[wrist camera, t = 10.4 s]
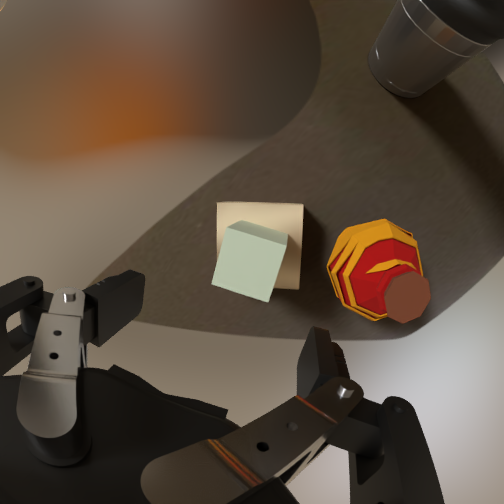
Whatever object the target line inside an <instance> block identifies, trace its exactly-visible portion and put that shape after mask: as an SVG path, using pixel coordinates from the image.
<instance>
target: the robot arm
mask: <svg viewBox="0 0 504 504" xmlns="http://www.w3.org/2000/svg"><path fill="white" fill-rule="evenodd" d="M499 39H504V0H397V2H396V4H395V6H394V8H393V10H392V11H391V13H390V15H389V17H388V19H387V21H386V23H385V25H384V27H383V28H382V30H381V32H380V34H379V36H378V37H377V39H376V41H375V43H374V45H373V47H372V49H371V51H370V53H369V58H368V60H369V66H370V69H371V71H372V73H373V75H374V77H375V78H376V79H377V80H378V82H379V83H380V84H381V85H382V86H383V87H385V88H386V89H387V90H389V91H390V92H392V93H394V94H396V95H398V96H401V97H406V98H415V97H418V96H421V95H422V94H423V93H425V92H426V91H427V90H429V89H430V88H432V87H433V86H435V85H436V84H437V83H439V82H440V81H441V80H443V79H444V78H445V77H447V76H448V75H450V74H451V73H452V72H454V71H455V70H456V69H458V68H459V67H461V66H462V65H463V64H465V63H466V62H468V61H469V60H470V59H472V58H473V57H475V56H476V55H477V54H479V53H480V52H481V51H483V50H484V49H486V48H487V47H489V46H490V45H491V44H493V43H494V42H496V41H497V40H499ZM144 285H145V276H144V274H142V273H139V272H136V271H133V270H127V271H125V272H124V273H122V274H120V275H116V276H111V277H108V278H106V279H104V280H102V281H100V282H98V283H97V284H94V285H92V286H90V287H88V288H86V289H84V290H82V291H81V290H79V289H77V288H72V287H65V288H60V289H58V290H56V291H55V293H54V294H53V293H49V292H45V291H43V281H42V280H41V279H40V278H38V277H34V276H26V277H21V278H19V279H17V280H14V281H12V282H10V283H8V284H6V285H3V286H1V287H0V504H299V502H298V501H297V500H296V499H295V497H294V496H293V495H292V493H291V492H290V491H289V490H288V488H287V487H286V485H288V484H289V483H290V482H291V481H292V480H293V479H294V478H295V477H296V476H297V475H298V474H299V473H300V472H301V471H302V470H303V469H305V468H306V467H307V466H308V465H309V464H310V463H311V462H312V461H313V460H315V459H316V458H317V457H318V456H319V455H320V454H321V453H322V452H323V451H324V450H325V449H326V448H327V447H328V446H329V445H333V446H336V447H338V448H341V449H344V450H347V451H348V454H349V474H350V504H445V503H444V499H443V495H442V492H441V488H440V484H439V480H438V477H437V473H436V470H435V467H434V463H433V460H432V457H431V454H430V451H429V448H428V445H427V442H426V439H425V436H424V434H423V431H422V428H421V425H420V423H419V420H418V417H417V414H416V412H415V409H414V408H413V406H412V405H411V404H410V403H409V402H408V401H406V400H405V399H403V398H400V397H396V396H390V397H387V398H386V399H385V400H384V402H383V403H382V405H381V404H379V403H376V402H373V401H370V400H368V399H365V398H364V397H363V396H364V392H363V389H362V388H361V386H360V385H358V384H357V383H356V382H355V381H353V380H350V376H349V372H348V368H347V364H346V361H345V358H344V354H343V350H342V349H341V348H340V346H339V345H338V344H337V343H335V342H331V338H330V334H329V330H326V329H322V328H318V327H314V326H313V327H312V328H311V329H310V332H309V334H308V337H307V339H306V342H305V344H304V347H303V349H302V351H301V354H300V357H299V360H298V365H297V395H296V396H294V397H292V398H291V399H289V400H288V401H286V402H285V403H283V404H281V405H280V406H278V407H277V408H275V409H273V410H271V411H270V412H268V413H266V414H265V415H263V416H261V417H260V418H258V419H256V420H254V421H252V422H250V423H249V424H247V425H245V426H243V427H239V426H238V425H237V424H235V423H234V422H232V421H230V420H228V419H226V415H227V412H228V410H227V409H224V408H221V407H218V406H215V405H212V404H208V403H205V402H202V401H200V400H196V399H190V398H184V397H178V396H173V395H168V394H165V393H162V392H161V391H159V390H158V389H156V388H155V387H153V386H152V385H150V384H149V383H148V382H146V381H145V380H143V379H142V378H140V377H139V376H137V375H135V374H133V373H131V372H129V371H127V370H124V369H122V368H120V367H118V366H116V365H113V366H112V367H111V368H110V369H109V370H104V369H99V368H88V365H87V364H88V362H87V344H88V343H89V342H91V343H92V344H94V345H96V346H98V347H100V346H101V345H103V344H104V343H105V342H106V341H107V340H109V339H110V338H111V337H112V336H113V335H115V334H116V333H117V332H118V331H119V330H120V329H122V328H123V327H124V326H126V325H127V324H128V323H129V322H130V321H132V320H133V319H134V318H135V317H136V316H138V314H139V313H140V311H141V309H142V305H143V295H144ZM18 311H19V312H20V318H21V325H19V326H17V327H16V328H14V329H13V330H11V331H10V332H8V333H7V329H6V321H7V319H8V318H9V317H10V316H11V315H13V314H14V313H16V312H18ZM30 353H31V356H30V360H29V365H28V369H27V371H26V372H23V374H22V375H12V376H3V375H4V374H5V373H6V372H8V371H9V370H10V369H11V368H12V367H14V366H15V365H16V364H18V363H19V362H20V361H21V360H23V359H24V358H25V357H27V356H28V355H29V354H30Z"/></svg>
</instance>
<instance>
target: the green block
mask: <svg viewBox="0 0 504 504" xmlns="http://www.w3.org/2000/svg"><path fill="white" fill-rule="evenodd" d="M287 239H288V234H287V233H284V232H280V231H277V230H274V229H271V228H267V227H264V226H261V225H258V224H254V223H251V222H248V221H244V220H240V221H238V222H236V223H234V224H232V225H230V226H228V227H226V230H225V234H224V238H223V242H222V245H221V249H220V253H219V257H218V261H217V264H216V268H215V272H214V276H213V280H212V284H213V285H216V286H219V287H222V288H225V289H228V290H231V291H234V292H237V293H240V294H243V295H246V296H249V297H252V298H256V299H259V300H262V301H265V302H269V299H270V296H271V293H272V290H273V287H274V284H275V281H276V278H277V275H278V272H279V269H280V265H281V262H282V259H283V256H284V253H285V250H286V247H287Z"/></svg>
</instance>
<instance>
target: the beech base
mask: <svg viewBox="0 0 504 504" xmlns="http://www.w3.org/2000/svg"><path fill="white" fill-rule="evenodd" d="M240 220H244V221H248V222H251V223H254V224H258V225H261V226H264V227H267V228H271V229H274V230H277V231H280V232H284V233H287V234H288V239H287V247H286V250H285V253H284V256H283V259H282V262H281V265H280V269H279V272H278V275H277V278H276V281H275V284H274V287H273V288H282V289H299V281H300V266H301V249H302V229H303V204H293V203H266V202H219V203H217V261H218V257H219V253H220V249H221V245H222V242H223V238H224V234H225V230H226V227H228V226H230V225H232V224H234V223H236V222H238V221H240Z"/></svg>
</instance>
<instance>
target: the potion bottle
mask: <svg viewBox="0 0 504 504" xmlns="http://www.w3.org/2000/svg"><path fill="white" fill-rule="evenodd" d="M398 228H399V229H401V230H402V231H401V230H399V229H398ZM403 231H404V232H406V233H404V232H403ZM327 270H328V272H329V275H330V278H331V281H332V284H333V287H334V290H335V293H336V296H337V297H338V298H339V299H340V301H342V304H343V306H344V307H346V308H348V309H350V310H352V311H354V312H356V313H358V314H360V315H362V316H364V317H365V318H367V319H369V320H371V321H377V320H379V319H382V318H385V317H387V316H388V317H390V318H392V319H394V320H396V321H398V322H400V323H402V324H403V323H406V322H408V321H411V320H413V319H415V318H417V317H420V316H421V314H422V313H423V311H424V309H425V308H426V306H427V304H428V302H429V301H430V299H431V296H430V288H429V281H428V279H426V278H425V277H423V271H422V265H421V260H420V255H419V250H418V245H417V241H415V240H414V239H413V236H412V233H410V232H408V231H406V230H404V229H402V228H400V227H398V226H396V225H395V224H393V223H391V222H390V221H388V220H386V219H381V220H377V221H372V222H368V223H364V224H360V225H356V226H352V227H347V228H346V229H345V230H344V231H343V232H342V233H341V234H340V235H339V237H338V239H337V242H336V244H335V247H334V249H333V251H332V254H331V256H330V259H329V261H328V264H327ZM362 312H363V313H362ZM364 313H365V314H364ZM366 314H367V315H366ZM368 315H369V316H368ZM370 316H371V317H370ZM372 317H373V318H372Z"/></svg>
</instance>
